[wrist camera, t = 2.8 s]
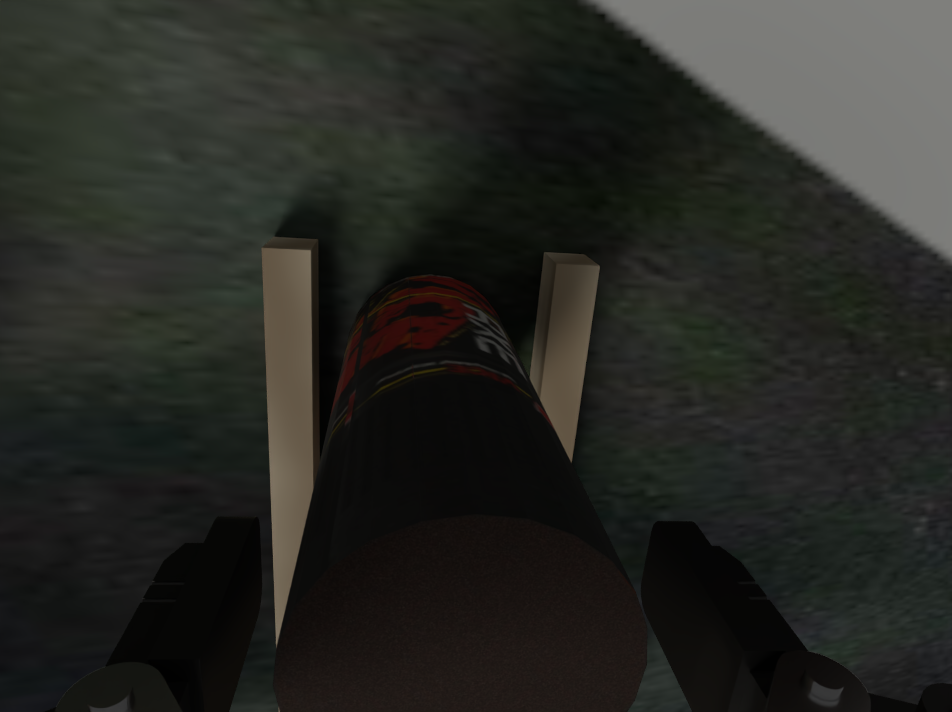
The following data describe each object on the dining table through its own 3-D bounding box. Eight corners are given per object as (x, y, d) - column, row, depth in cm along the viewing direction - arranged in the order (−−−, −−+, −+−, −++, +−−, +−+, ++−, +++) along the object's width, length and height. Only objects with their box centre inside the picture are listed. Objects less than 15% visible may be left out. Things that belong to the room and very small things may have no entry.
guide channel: (289, 777, 31) (274, 868, 27) (273, 236, 22) (247, 261, 18) (514, 766, 32) (529, 851, 29) (584, 254, 23) (619, 280, 20)
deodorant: (526, 299, 24) (707, 556, 10) (478, 437, 26) (572, 822, 12) (370, 254, 23) (323, 474, 9) (331, 403, 24) (238, 785, 10)
